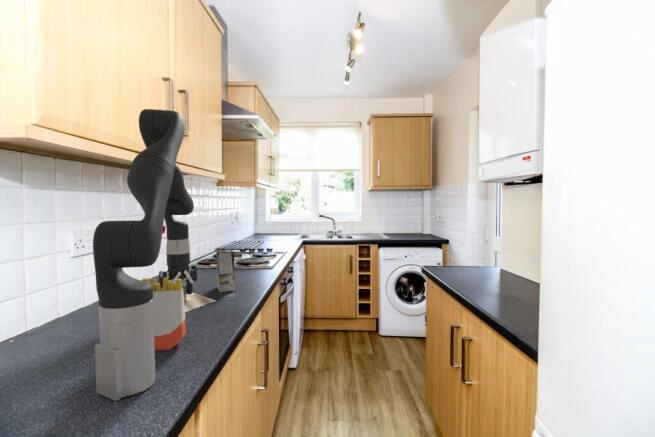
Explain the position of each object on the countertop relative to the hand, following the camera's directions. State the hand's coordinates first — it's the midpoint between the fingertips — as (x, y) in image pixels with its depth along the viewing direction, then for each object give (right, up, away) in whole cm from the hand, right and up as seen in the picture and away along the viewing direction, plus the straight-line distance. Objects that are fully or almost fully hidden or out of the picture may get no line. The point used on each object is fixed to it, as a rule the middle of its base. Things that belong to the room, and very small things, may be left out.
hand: (179, 297), depth 116 cm
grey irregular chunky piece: (-3, -2, +1) cm, 4 cm away
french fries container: (+10, -5, -33) cm, 35 cm away
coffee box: (+10, -2, +22) cm, 24 cm away
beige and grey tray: (-5, -4, +2) cm, 7 cm away
